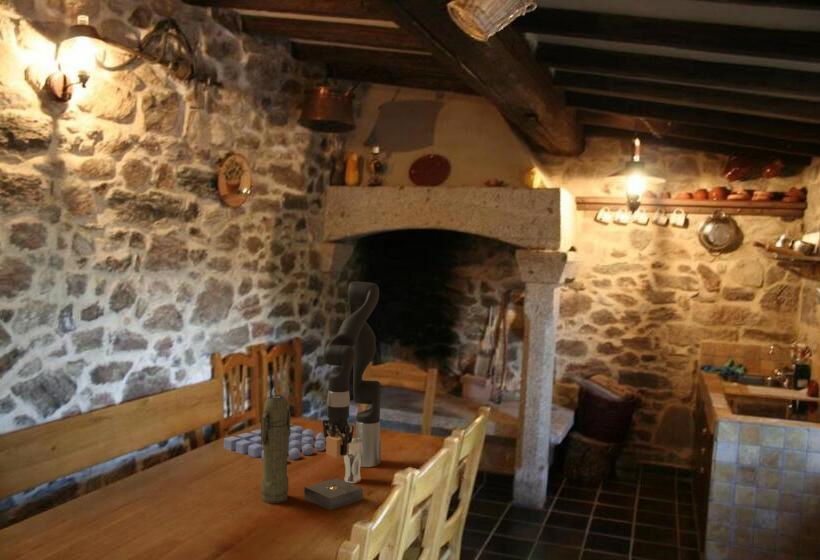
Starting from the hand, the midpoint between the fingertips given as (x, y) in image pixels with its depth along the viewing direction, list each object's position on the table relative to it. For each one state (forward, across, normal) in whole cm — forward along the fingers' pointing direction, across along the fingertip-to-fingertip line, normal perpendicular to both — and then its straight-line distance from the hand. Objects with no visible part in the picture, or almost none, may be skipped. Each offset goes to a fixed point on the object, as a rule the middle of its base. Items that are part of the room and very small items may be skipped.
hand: (337, 452), depth 237 cm
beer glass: (+16, +10, -16) cm, 25 cm away
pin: (+15, +1, +1) cm, 15 cm away
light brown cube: (+1, 0, 0) cm, 1 cm away
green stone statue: (+16, +14, +15) cm, 26 cm away
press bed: (+16, +1, +1) cm, 16 cm away
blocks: (+16, +62, -22) cm, 67 cm away
